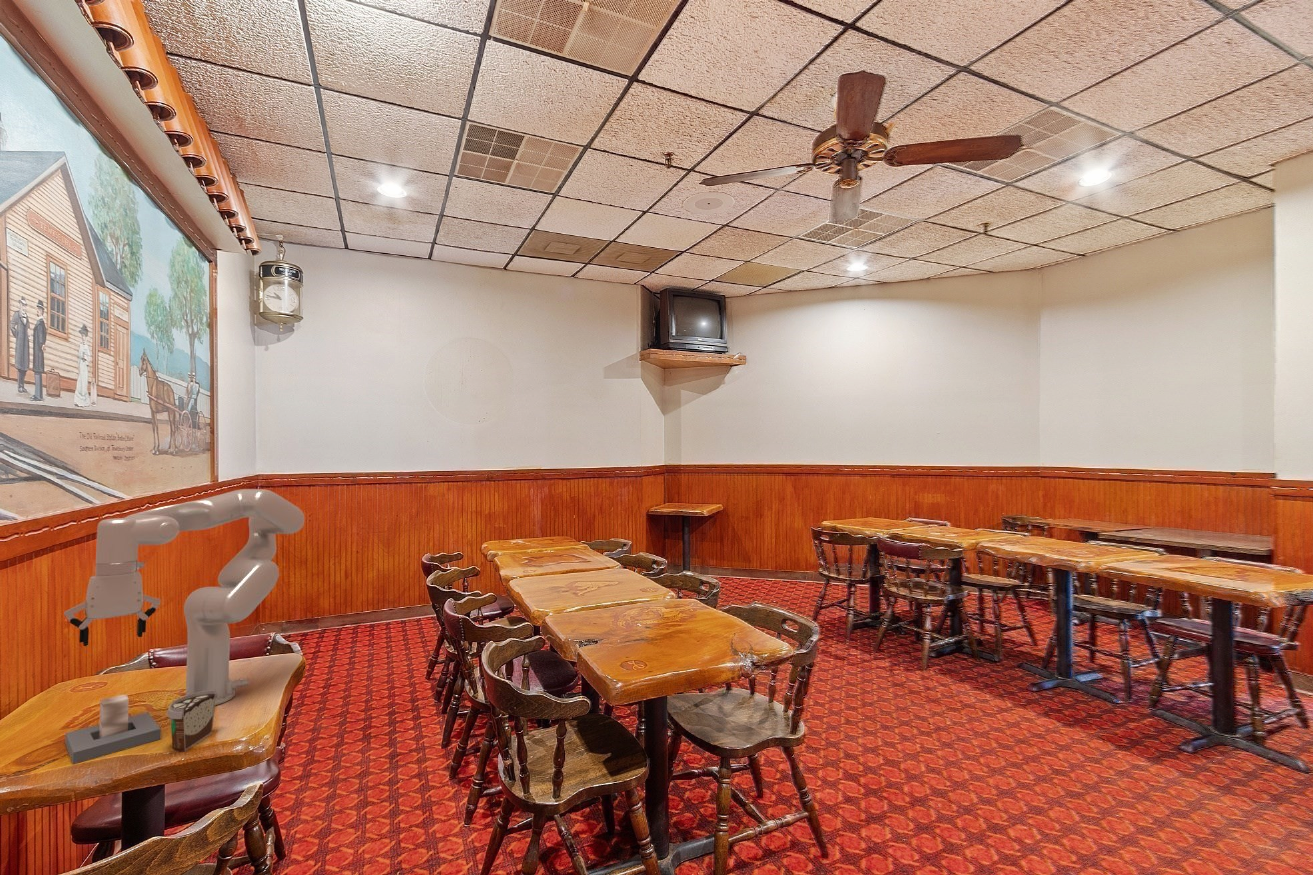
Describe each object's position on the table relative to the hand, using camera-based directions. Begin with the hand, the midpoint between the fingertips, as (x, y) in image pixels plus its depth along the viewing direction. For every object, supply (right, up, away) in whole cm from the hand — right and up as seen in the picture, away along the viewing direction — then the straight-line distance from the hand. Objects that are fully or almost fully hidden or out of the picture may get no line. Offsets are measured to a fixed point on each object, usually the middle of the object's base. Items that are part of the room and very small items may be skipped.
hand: (113, 640), depth 141 cm
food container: (+19, -24, -2) cm, 31 cm away
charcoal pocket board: (+1, -24, -1) cm, 24 cm away
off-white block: (+1, -24, -1) cm, 24 cm away
